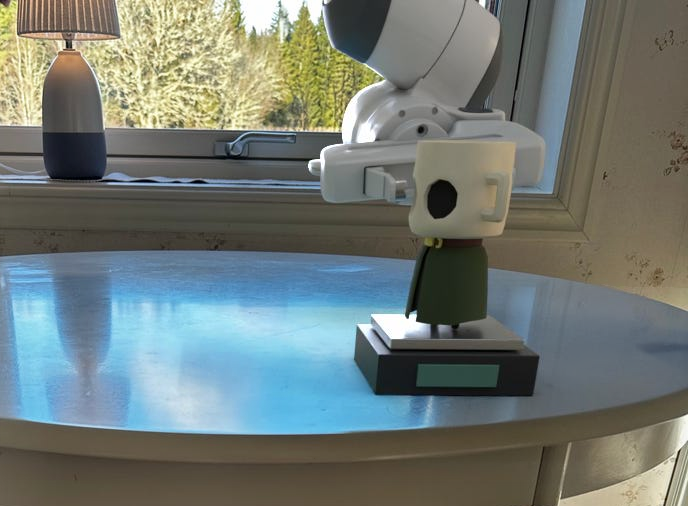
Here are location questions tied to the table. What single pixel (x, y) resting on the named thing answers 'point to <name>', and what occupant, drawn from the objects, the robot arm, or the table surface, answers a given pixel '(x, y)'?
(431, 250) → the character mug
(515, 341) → the scale pan
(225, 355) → the table surface
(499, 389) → the scale
